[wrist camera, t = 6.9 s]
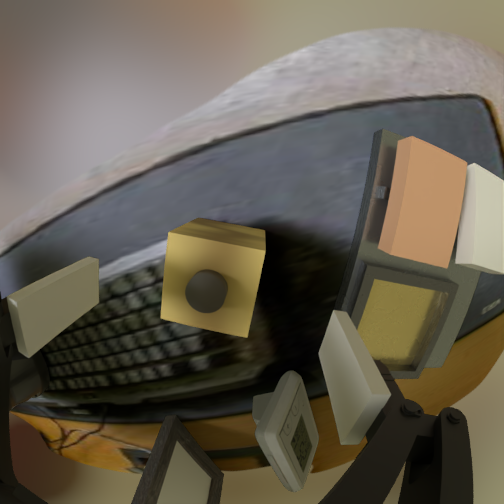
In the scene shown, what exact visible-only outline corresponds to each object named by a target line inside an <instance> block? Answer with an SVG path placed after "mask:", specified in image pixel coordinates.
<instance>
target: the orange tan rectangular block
mask: <svg viewBox="0 0 504 504" xmlns="http://www.w3.org/2000/svg"><path fill="white" fill-rule="evenodd" d="M466 171H467V162H465V161H464V160H462V159H460V158H458V157H456V156H454V155H452V154H450V153H448V152H446V151H444V150H442V149H440V148H438V147H436V146H434V145H431V144H429V143H427V142H425V141H423V140H420V139H418V138H416V137H413V136H410V137H407V138H405V139H402V140H399V141H398V145H397V152H396V160H395V166H394V173H393V179H392V184H391V190H390V195H389V201H388V206H387V210H386V215H385V220H384V224H383V229H382V233H381V237H380V241H379V245H378V249H380V250H382V251H384V252H386V253H388V254H390V255H394V256H398V257H402V258H406V259H410V260H414V261H418V262H423V263H427V264H431V265H435V266H439V267H443V268H446V269H447V268H448V265H449V261H450V257H451V254H452V250H453V246H454V242H455V237H456V233H457V228H458V223H459V218H460V213H461V207H462V201H463V195H464V188H465V180H466Z"/></svg>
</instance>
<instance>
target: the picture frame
mask: <svg viewBox="0 0 504 504" xmlns="http://www.w3.org/2000/svg"><path fill="white" fill-rule="evenodd" d="M223 477H224V474H223V473H222V472H221V470H220V469H219V468H218V467H217V466H216V465H215V464H214V463H213V461H212V460H211V459H210V458H209V457H208V456H207V454H206V453H205V452H204V451H203V450H202V448H201V447H200V446H199V445H198V443H197V442H196V441H195V440H194V438H193V437H192V436H191V434H190V433H189V432H188V431H187V429H186V428H185V427H184V425H183V424H182V423H181V421H180V420H179V419H178V417H177V416H176V415H168V416H166V417H165V419H164V421H163V424H162V426H161V429H160V431H159V434H158V436H157V439H156V441H155V444H154V446H153V449H152V451H151V454H150V456H149V459H148V462H147V464H146V467H145V469H144V472H143V474H142V477H141V479H140V482H139V485H138V487H137V490H136V493H135V495H134V498H133V500H132V503H131V504H220V497H221V490H222V483H223Z"/></svg>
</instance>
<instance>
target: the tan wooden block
mask: <svg viewBox="0 0 504 504" xmlns="http://www.w3.org/2000/svg"><path fill="white" fill-rule="evenodd" d="M265 252H266V243H265V230H261V229H255V228H250V227H245V226H240V225H235V224H229V223H224V222H219V221H213V220H208V219H203V218H196V219H194V220H192V221H190V222H188V223H186V224H184V225H182V226H180V227H178V228H176V229H174V230H172V231H170V232H169V233H168V241H167V250H166V259H165V269H164V280H163V292H162V305H161V319H165V320H169V321H173V322H177V323H181V324H185V325H189V326H194V327H198V328H202V329H207V330H212V331H216V332H221V333H226V334H231V335H236V336H241V337H247V336H248V332H249V327H250V323H251V318H252V313H253V309H254V304H255V300H256V295H257V290H258V285H259V281H260V276H261V271H262V267H263V262H264V257H265Z"/></svg>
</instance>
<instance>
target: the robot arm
mask: <svg viewBox="0 0 504 504" xmlns="http://www.w3.org/2000/svg"><path fill="white" fill-rule="evenodd" d="M98 303H99V259H96V258H92V257H87V258H84V259H82V260H80V261H78V262H76V263H73V264H71V265H69V266H67V267H65V268H63V269H61V270H58V271H56V272H54V273H52V274H50V275H48V276H46V277H44V278H42V279H40V280H38V281H36V282H34V283H32V284H30V285H28V286H26V287H24V288H22V289H20V290H18V291H16V292H14V293H12V294H11V295H9V296H7V297H5V298H4V299H1V293H0V504H48V503H47V502H45V501H44V500H42V499H41V498H39V497H38V496H36V495H35V494H34V493H32V492H31V491H29V490H28V489H27V488H25V487H24V486H23V485H21V484H20V483H18V481H17V479H16V477H15V474H14V471H13V466H12V459H11V448H10V434H9V411H10V410H11V409H12V408H13V407H14V406H16V405H19V404H21V403H23V402H25V401H27V400H29V399H30V398H36V397H38V396H40V395H41V394H42V393H43V392H44V391H45V390H46V389H47V388H48V386H49V382H50V377H49V372H48V368H47V365H46V362H45V360H44V357H43V355H42V353H41V351H40V349H41V348H42V347H43V346H44V345H46V344H47V343H48V342H49V341H51V340H52V339H53V338H54V337H55V336H57V335H58V334H59V333H60V332H62V331H63V330H64V329H66V328H67V327H68V326H69V325H71V324H72V323H73V322H74V321H76V320H77V319H78V318H80V317H81V316H82V315H83V314H85V313H86V312H87V311H89V310H90V309H91V308H93V307H94V306H95V305H97V304H98ZM318 354H319V358H320V361H321V365H322V369H323V373H324V377H325V381H326V385H327V389H328V393H329V397H330V401H331V405H332V409H333V413H334V417H335V422H336V426H337V430H338V434H339V439H340V443H341V445H355V444H359V443H360V442H361V440H362V439H363V438H364V436H365V435H366V438H367V441H368V443H367V444H366V446H365V447H364V448H363V449H362V451H361V452H360V453H359V455H358V456H357V457H356V459H355V461H354V462H353V463H352V465H351V466H350V467H349V468H348V470H347V471H346V472H345V473H344V475H343V476H342V477H341V478H340V480H339V481H338V482H337V483H336V484H335V485H334V487H333V488H332V489H331V490H330V491H329V492H328V494H327V495H326V496H325V497H324V498H323V499H322V500H321V501H320V502H319V503H318V504H383V502H384V500H385V498H386V497H387V495H388V494H389V492H390V490H391V488H392V487H393V485H394V483H395V481H396V479H397V477H398V475H399V473H400V471H401V469H402V467H403V465H404V463H405V461H406V464H405V470H404V476H403V482H402V487H401V492H400V497H399V501H398V504H473V471H472V457H471V448H470V439H469V432H468V426H467V420H466V418H465V416H464V415H463V413H462V412H461V411H459V410H458V409H455V408H452V407H447V408H444V409H443V410H442V411H441V412H440V414H439V415H438V416H433V415H427V414H424V411H423V409H422V408H421V406H420V405H419V404H417V403H416V402H414V401H411V400H408V399H405V398H404V396H403V394H402V393H401V391H400V389H399V387H398V385H397V384H396V382H395V381H394V378H393V377H392V375H391V373H390V371H389V370H388V368H387V366H385V365H384V364H383V363H382V362H381V361H380V360H373V359H372V357H371V355H370V353H369V351H368V349H367V348H366V346H365V344H364V342H363V340H362V339H361V337H360V335H359V333H358V331H357V330H356V328H355V326H354V324H353V322H352V321H351V319H350V317H349V315H348V314H347V312H343V311H337V310H333V312H332V315H331V319H330V322H329V325H328V327H327V330H326V333H325V336H324V339H323V342H322V345H321V347H320V350H319V353H318Z"/></svg>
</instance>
